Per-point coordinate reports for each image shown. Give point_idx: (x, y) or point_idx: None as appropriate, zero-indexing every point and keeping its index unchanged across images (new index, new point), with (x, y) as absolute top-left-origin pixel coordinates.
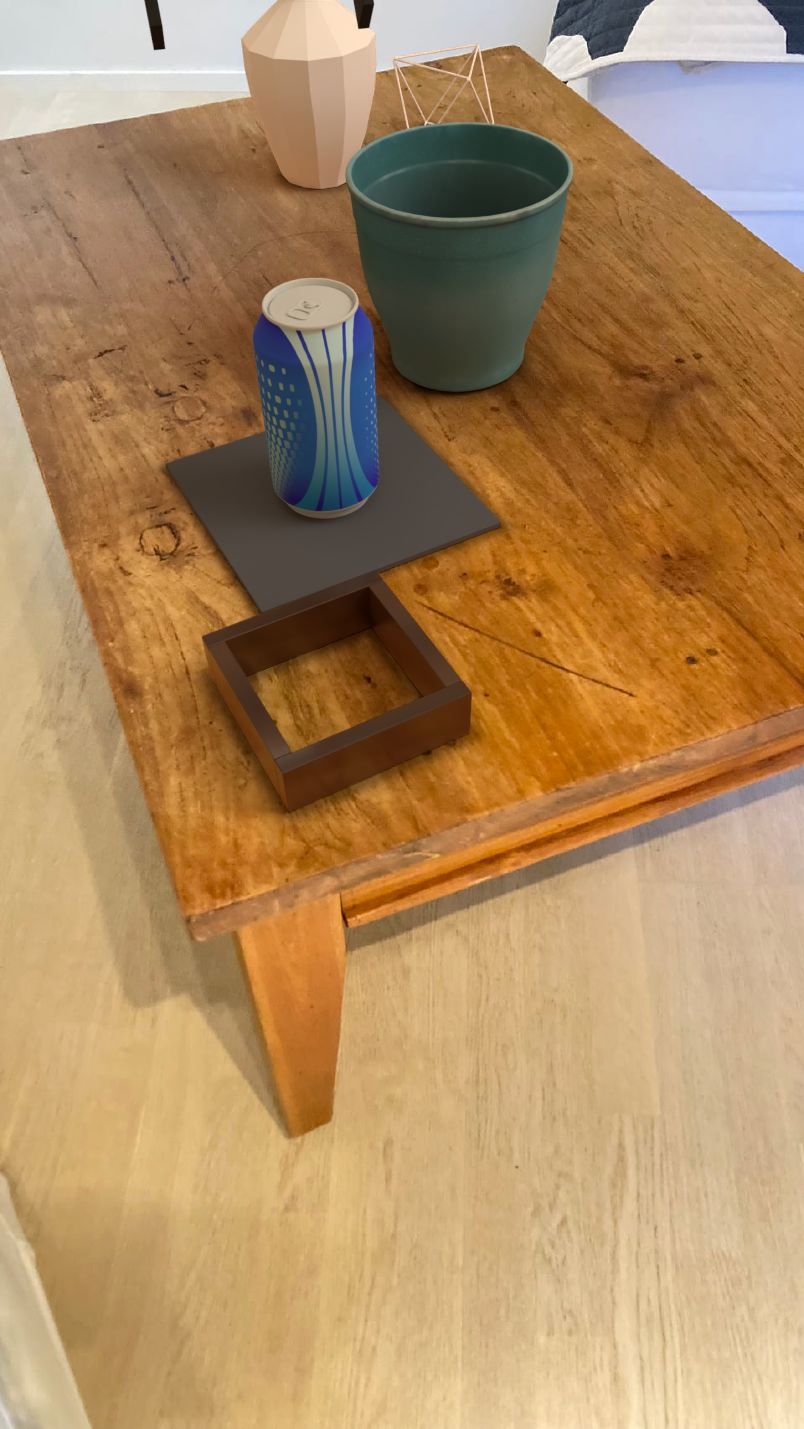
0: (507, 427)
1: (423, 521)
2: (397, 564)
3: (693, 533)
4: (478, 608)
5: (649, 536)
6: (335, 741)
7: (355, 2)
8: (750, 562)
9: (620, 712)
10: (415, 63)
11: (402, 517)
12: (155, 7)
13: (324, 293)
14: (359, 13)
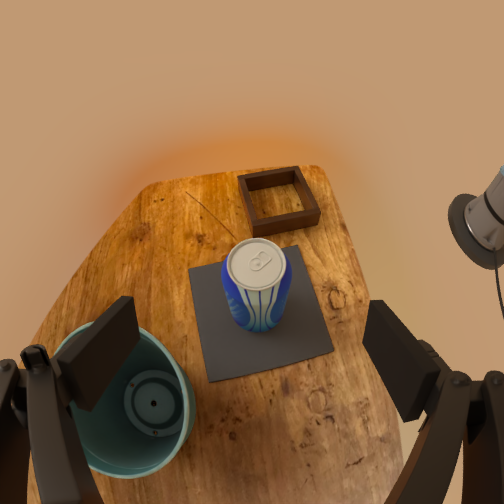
0: (156, 336)
1: (219, 277)
2: None
3: (125, 248)
4: (215, 232)
5: (139, 250)
6: (281, 170)
7: (129, 341)
8: (119, 231)
9: (192, 187)
10: None
11: None
12: (380, 309)
13: (244, 274)
14: (134, 323)
